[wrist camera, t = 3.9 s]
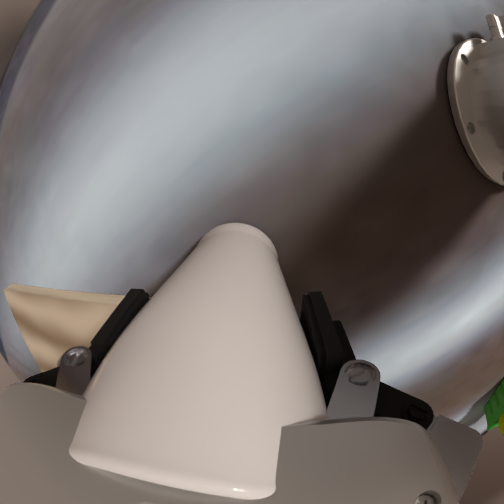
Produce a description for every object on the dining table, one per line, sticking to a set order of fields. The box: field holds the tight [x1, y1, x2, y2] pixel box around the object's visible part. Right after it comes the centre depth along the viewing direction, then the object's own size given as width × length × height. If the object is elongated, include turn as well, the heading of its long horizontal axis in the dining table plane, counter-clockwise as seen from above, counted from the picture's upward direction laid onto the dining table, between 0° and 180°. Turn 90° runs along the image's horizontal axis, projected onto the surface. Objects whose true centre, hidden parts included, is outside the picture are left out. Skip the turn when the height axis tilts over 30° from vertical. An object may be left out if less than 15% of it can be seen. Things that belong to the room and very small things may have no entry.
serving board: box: [4, 284, 151, 372], centre depth 22 cm, size 22×18×2 cm
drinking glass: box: [69, 223, 328, 500], centre depth 11 cm, size 7×7×15 cm
